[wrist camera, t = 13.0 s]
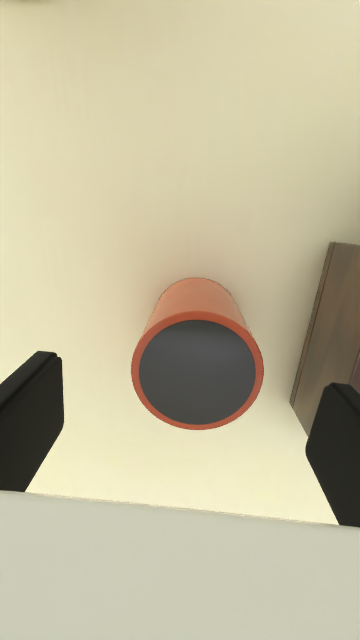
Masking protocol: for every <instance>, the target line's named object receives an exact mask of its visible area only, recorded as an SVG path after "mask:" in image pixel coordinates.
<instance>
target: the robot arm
mask: <svg viewBox="0 0 360 640" xmlns="http://www.w3.org/2000/svg"><path fill="white" fill-rule="evenodd" d="M63 424H64V404H63V377H62V359H61V358H60V357H57V354H56V353H54V352H45V351H37V352H36V353H35V354H34V355H33V356H31V357H30V358H29V359H28V360H27V361H26V362H25V363H24V364H22V365H21V366H20V367H19V368H18V369H17V370H16V371H15V372H13V373H12V374H11V375H10V376H9V377H8V378H7V379H6V380H4V381H3V382H2V383H1V384H0V640H360V394H359V393H358V392H357V391H356V390H355V389H354V388H353V387H352V386H351V385H350V384H343V383H334V382H332V383H330V384H329V386H325V387H324V389H323V392H322V395H321V398H320V402H319V405H318V408H317V411H316V415H315V418H314V421H313V424H312V428H311V431H310V434H309V437H308V441H307V444H306V456H307V459H308V461H309V463H310V465H311V467H312V469H313V471H314V473H315V475H316V477H317V479H318V481H319V484H320V486H321V488H322V490H323V492H324V494H325V496H326V498H327V500H328V502H329V504H330V506H331V509H332V511H333V513H334V515H335V517H336V519H337V521H338V523H339V525H333V524H324V523H315V522H306V521H297V520H288V519H280V518H271V517H262V516H252V515H243V514H234V513H224V512H215V511H206V510H196V509H187V508H177V507H168V506H158V505H149V504H139V503H129V502H119V501H109V500H99V499H89V498H79V497H69V496H59V495H48V494H38V493H27V492H25V491H26V489H27V487H28V486H29V484H30V482H31V481H32V479H33V477H34V476H35V474H36V472H37V471H38V469H39V467H40V466H41V464H42V462H43V461H44V459H45V457H46V456H47V454H48V452H49V451H50V449H51V447H52V446H53V444H54V442H55V441H56V439H57V437H58V436H59V434H60V432H61V430H62V428H63Z"/></svg>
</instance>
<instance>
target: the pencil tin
mask: <svg viewBox="0 0 360 640" xmlns="http://www.w3.org/2000/svg"><path fill="white" fill-rule="evenodd" d="M263 375H264V367H263V359H262V356H261V352H260V350H259V348H258V345H257V343H256V342H255V340H254V338H253V336H252V334H251V332H250V330H249V328H248V326H247V325H246V323H245V321H244V319H243V317H242V315H241V313H240V311H239V309H238V307H237V306H236V304H235V302H234V300H233V298H232V297H231V295H230V294H229V293H228V291H227V290H226V289H225V288H223V287H222V286H221V285H219V284H218V283H216V282H214V281H211V280H208V279H204V278H188V279H184V280H181V281H179V282H176V283H175V284H173V285H171V286H170V287H169V288H168V289H167V290H166V291H165V292H164V293H163V294H162V295H161V297H160V298H159V301H158V303H157V305H156V307H155V309H154V311H153V313H152V315H151V317H150V319H149V321H148V323H147V326H146V328H145V330H144V332H143V334H142V336H141V338H140V340H139V342H138V344H137V346H136V349H135V351H134V354H133V358H132V364H131V376H132V382H133V385H134V389H135V391H136V393H137V395H138V397H139V399H140V400H141V402H142V403H143V405H144V406H145V407H146V408H147V409H148V410H149V411H150V412H151V413H152V414H153V415H155V416H156V417H157V418H159V419H160V420H162V421H164V422H166V423H168V424H170V425H173V426H176V427H179V428H183V429H190V430H206V429H213V428H217V427H220V426H223V425H226V424H228V423H230V422H232V421H234V420H235V419H237V418H238V417H240V416H241V415H242V414H243V413H244V412H246V411H247V410H248V409H249V407H250V406H251V405H252V404H253V402H254V401H255V399H256V398H257V396H258V393H259V391H260V389H261V385H262V381H263Z"/></svg>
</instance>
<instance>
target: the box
mask: <svg viewBox="0 0 360 640" xmlns="http://www.w3.org/2000/svg"><path fill="white" fill-rule="evenodd" d="M332 382H334V383H343V384H350V385H351V386H352V387H353V388H354V389H355V390H356V391H357V392H358V393H359V394H360V245H358V244H349V243H339V242H330V245H329V249H328V253H327V257H326V261H325V265H324V269H323V273H322V277H321V281H320V285H319V289H318V292H317V296H316V300H315V304H314V308H313V312H312V316H311V320H310V324H309V328H308V332H307V336H306V340H305V344H304V348H303V352H302V356H301V360H300V364H299V368H298V372H297V376H296V379H295V383H294V387H293V391H292V395H291V399H290V404H291V406H292V408H293V410H294V412H295V414H296V415H297V417H298V419H299V421H300V423H301V425H302V427H303V428H304V430H305V432H306V434H307V436H308V437H309V434H310V431H311V428H312V424H313V421H314V418H315V415H316V411H317V408H318V405H319V402H320V398H321V395H322V392H323V389H324V387H325V386H329V384H330V383H332Z"/></svg>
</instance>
